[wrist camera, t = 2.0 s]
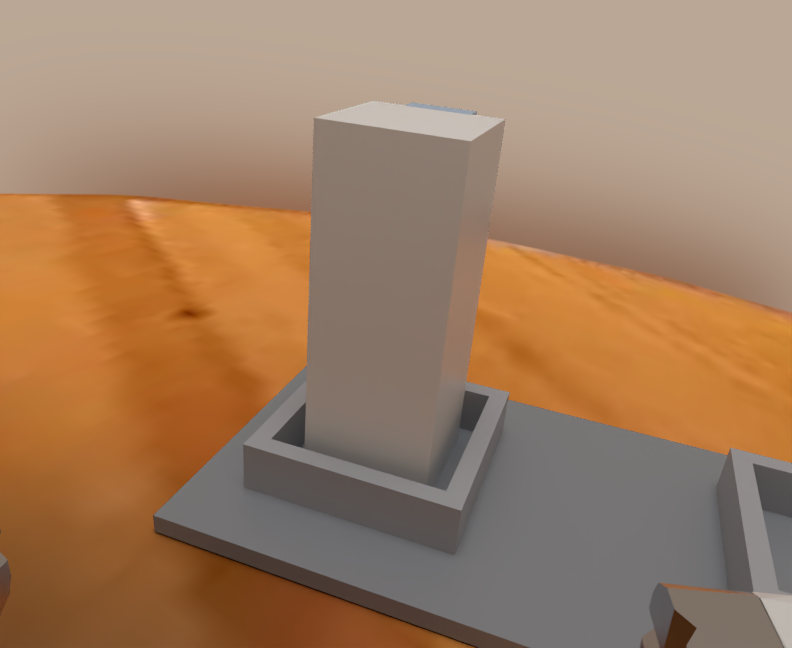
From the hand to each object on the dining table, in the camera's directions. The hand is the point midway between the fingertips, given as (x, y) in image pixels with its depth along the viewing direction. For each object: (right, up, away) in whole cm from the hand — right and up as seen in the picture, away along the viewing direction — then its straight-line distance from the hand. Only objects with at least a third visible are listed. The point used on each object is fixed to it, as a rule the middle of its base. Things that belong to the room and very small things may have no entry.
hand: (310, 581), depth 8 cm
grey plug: (+1, -1, +14) cm, 14 cm away
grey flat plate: (+7, -3, +13) cm, 15 cm away
